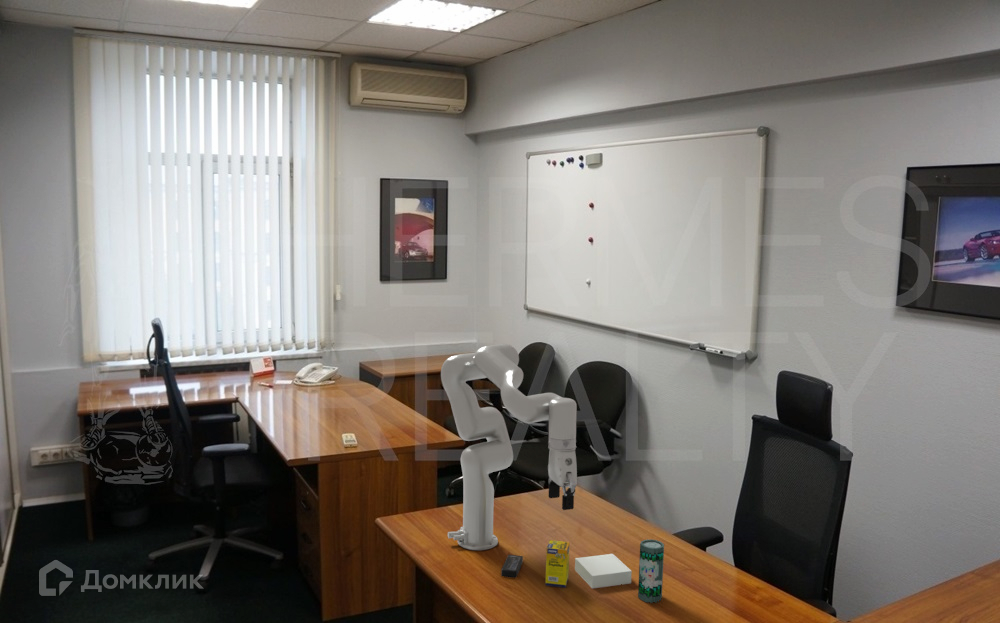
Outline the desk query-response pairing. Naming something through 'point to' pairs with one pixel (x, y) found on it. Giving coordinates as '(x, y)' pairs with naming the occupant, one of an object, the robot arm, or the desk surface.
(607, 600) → the desk surface
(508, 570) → the multiport hub
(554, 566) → the supplement box
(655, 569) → the can
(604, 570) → the white block
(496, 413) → the robot arm
